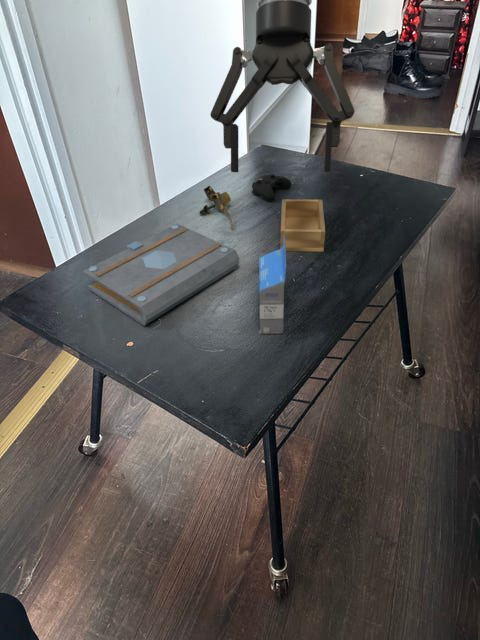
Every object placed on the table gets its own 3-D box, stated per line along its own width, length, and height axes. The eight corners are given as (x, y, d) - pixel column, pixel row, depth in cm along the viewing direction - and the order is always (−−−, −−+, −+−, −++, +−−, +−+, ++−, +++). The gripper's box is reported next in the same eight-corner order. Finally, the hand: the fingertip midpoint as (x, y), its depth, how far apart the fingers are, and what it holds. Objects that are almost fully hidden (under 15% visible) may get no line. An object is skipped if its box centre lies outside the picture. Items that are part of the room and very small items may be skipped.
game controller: (273, 200, 104) (257, 177, 103) (259, 212, 108) (242, 190, 107) (294, 183, 110) (278, 162, 109) (280, 195, 114) (264, 175, 113)
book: (148, 330, 73) (142, 305, 70) (87, 290, 82) (80, 265, 79) (239, 271, 85) (238, 247, 82) (178, 241, 94) (175, 218, 90)
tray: (320, 218, 99) (322, 199, 96) (323, 251, 89) (325, 231, 86) (281, 218, 100) (282, 199, 97) (280, 251, 90) (280, 230, 87)
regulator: (248, 229, 98) (224, 190, 107) (243, 216, 95) (218, 176, 104) (216, 246, 98) (194, 205, 107) (209, 233, 95) (188, 192, 104)
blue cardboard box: (259, 299, 78) (258, 233, 71) (282, 299, 78) (284, 232, 70) (258, 334, 72) (257, 266, 64) (284, 334, 71) (287, 265, 63)
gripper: (374, 13, 67) (364, 172, 72) (199, 21, 70) (202, 173, 75) (382, -9, 59) (370, 169, 65) (187, 2, 63) (191, 171, 68)
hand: (280, 172), depth 70 cm, fingers open, 13 cm apart
